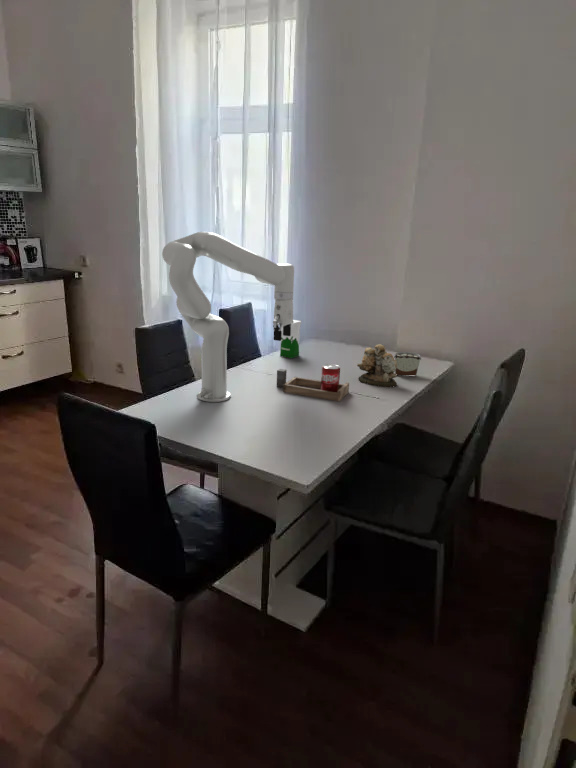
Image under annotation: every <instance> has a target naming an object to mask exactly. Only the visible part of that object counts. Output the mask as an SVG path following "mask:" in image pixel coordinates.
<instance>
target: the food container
mask: <svg viewBox="0 0 576 768" xmlns="http://www.w3.org/2000/svg"><path fill="white" fill-rule="evenodd" d="M393 358H394V360H396V361H397V368H396V370H395V372H394V374H397V375H416V376H417V374H418V369H419V365H420V362H421V361H422V357H421V355H420V354H419V353H416V352H409V351H400V352H395V354H394V355H393Z"/></svg>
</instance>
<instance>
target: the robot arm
mask: <svg viewBox="0 0 576 768" xmlns="http://www.w3.org/2000/svg"><path fill="white" fill-rule="evenodd" d="M161 254H162V255H161V256H162V259H163V260H164V262H165V263H166V264H167V265H168V266H170V267H169V273H168V280H169V283H170V284H169V285H170V286H171V288H172V290H173V292H174V294H175V295H176V302H175V303H176V307H177V310H178V312H179V313H180V315H182V317H183V319H184V320H185V321H186V323H187V325H188V326H189V327H190V329H191V330H192V331H193V332H194V334H196V335H197V336H199V337H201V338H203V339H202V345H201V350H200V354H201V355H200V356H201V357H200V358H201V361H200V362H201V388H200V389H201V390H200V391H199V392H198V393H197V394H196V399H198V400H200V401H203V402H209V403H220V402H225V401H227V400H229V399H230V398H231V395H232V394H231V392H229V391H228V389H227V388H228V387H227V384H228V383H227V382H228V380H227V378H228V377H227V375H228V373H227V371H228V369H227V368H228V366H227V364H228V363H227V361H228V360H227V359H228V358H227V357H228V353H227V350H228V349H227V348H228V340H229V336H230V328H229V325H228V323H227V322H226V320H225V319H223V318H222V317H220V316H218V315H215V314H212V313H211V312H212V304H211V301H210V299H209V298H208V297H207V294H205V293H204V291H203V289H202V288H201V286H200V285H199V284H198V282H197V280H196V278H195V277H194V268H195V265H196V261H197V258H199V257H201V256H203V257H207V258H209V259H211V260H213V261H216V262H218V263H220V264H222V265H224V266H225V267H228V268H230V269H232V270H234V271H237V272H240V273H243V274H247V275H250V276H253V277H254V278H255V279H256V280H257V281H258V282H259V283H262V284H267V285H270V286H274V291H273V292H274V294H273V299H274V308H273V320H272V327H273V340H274V341H277V342H281V338H282V331H281V328H282V325H284V326H283V335H284V336H290V335H291V323H292V322H293V320H294V303H293V302H294V301H293V300H294V286H295V285H294V284H295V283H294V282H295V281H294V280H295V266H294V264H291V263H275V262H273V261H271V260H269V259H267V258H266V257H263V256H261V255H259V254H256V253H254V252H253V251H251V250H249V249H246V248H244V247H242V246H240V245H238V244H236V243H234V242H233V241H230V240H229V239H227V238H225V237H223V236H222V235H219V234H217V233H214V232H210V231H198V232H194V233H192V234H189V235H187V236H184V237H180V238H178V239H174V240H173V241H169V242H168V243H167V244H165V246H164V247H163V249H162V253H161Z"/></svg>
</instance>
